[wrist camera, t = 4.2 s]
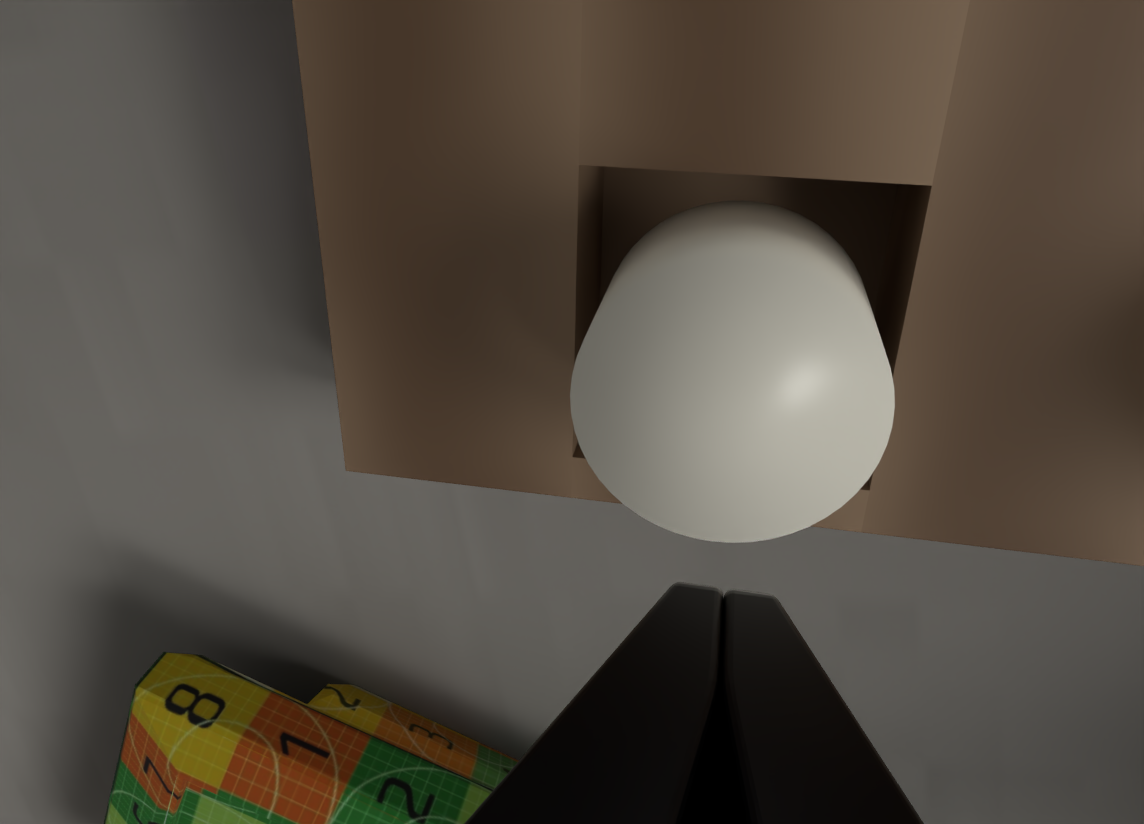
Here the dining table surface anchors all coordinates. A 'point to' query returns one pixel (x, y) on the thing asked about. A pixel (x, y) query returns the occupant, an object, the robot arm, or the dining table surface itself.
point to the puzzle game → (288, 755)
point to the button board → (746, 173)
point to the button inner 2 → (734, 376)
